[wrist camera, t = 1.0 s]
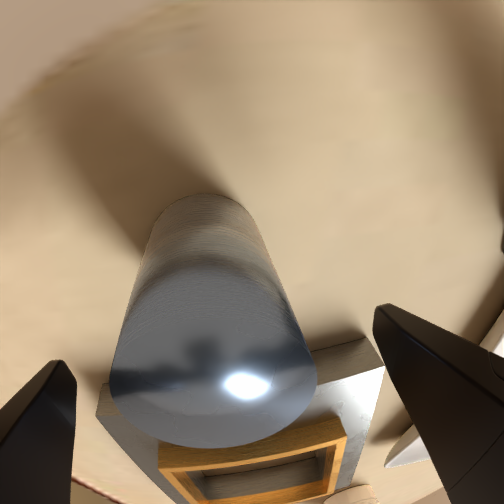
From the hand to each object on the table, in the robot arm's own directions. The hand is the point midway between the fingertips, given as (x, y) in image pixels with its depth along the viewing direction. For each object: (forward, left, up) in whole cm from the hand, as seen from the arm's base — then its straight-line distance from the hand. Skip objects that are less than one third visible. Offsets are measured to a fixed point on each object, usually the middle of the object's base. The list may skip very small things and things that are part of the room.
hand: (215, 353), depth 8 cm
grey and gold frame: (0, +17, -6) cm, 18 cm away
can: (0, 0, -6) cm, 6 cm away
